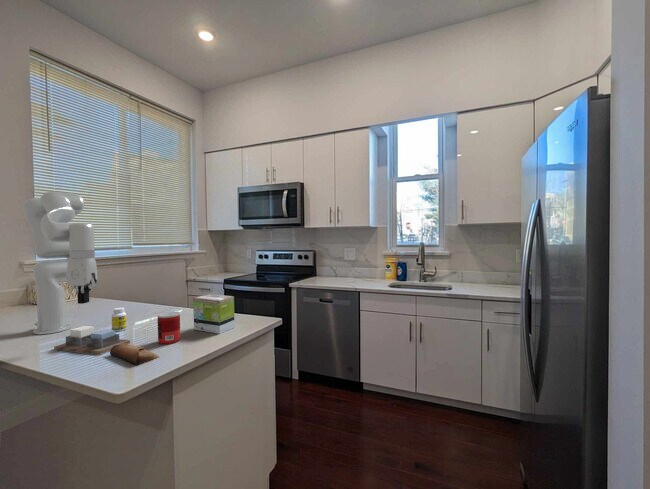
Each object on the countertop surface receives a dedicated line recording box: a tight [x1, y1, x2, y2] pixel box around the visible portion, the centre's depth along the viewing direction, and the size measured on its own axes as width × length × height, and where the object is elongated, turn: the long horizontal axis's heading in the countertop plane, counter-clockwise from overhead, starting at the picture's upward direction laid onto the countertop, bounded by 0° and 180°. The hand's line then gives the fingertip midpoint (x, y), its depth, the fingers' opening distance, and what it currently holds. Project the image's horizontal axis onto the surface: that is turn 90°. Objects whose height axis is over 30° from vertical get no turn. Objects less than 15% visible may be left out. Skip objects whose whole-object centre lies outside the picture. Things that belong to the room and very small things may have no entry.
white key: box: [69, 325, 96, 338], centre depth 116 cm, size 5×5×4 cm
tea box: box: [192, 293, 235, 335], centre depth 135 cm, size 15×10×15 cm
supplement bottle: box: [111, 307, 127, 333], centre depth 136 cm, size 5×5×10 cm
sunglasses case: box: [109, 344, 160, 366], centre depth 104 cm, size 18×7×7 cm
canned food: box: [157, 311, 181, 346], centre depth 120 cm, size 8×8×11 cm
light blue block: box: [91, 329, 116, 340], centre depth 114 cm, size 5×5×4 cm
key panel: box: [53, 333, 131, 356], centre depth 115 cm, size 22×12×4 cm, turn 76°
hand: (83, 302), depth 116 cm, fingers closed
